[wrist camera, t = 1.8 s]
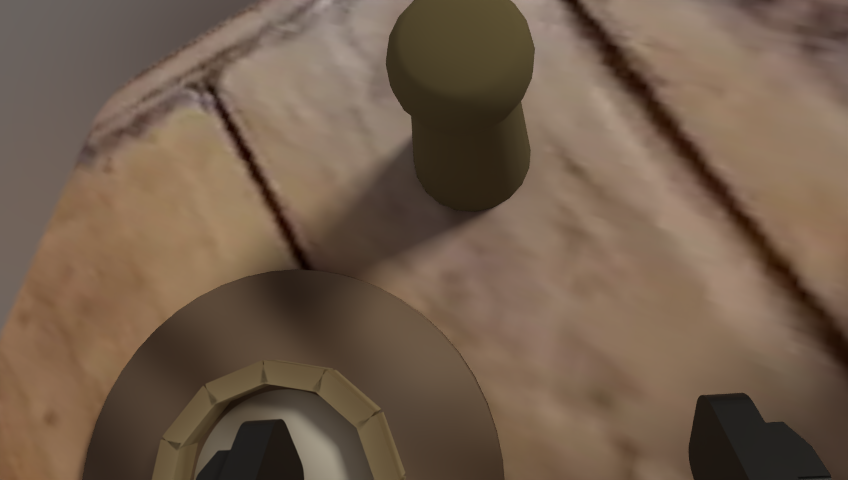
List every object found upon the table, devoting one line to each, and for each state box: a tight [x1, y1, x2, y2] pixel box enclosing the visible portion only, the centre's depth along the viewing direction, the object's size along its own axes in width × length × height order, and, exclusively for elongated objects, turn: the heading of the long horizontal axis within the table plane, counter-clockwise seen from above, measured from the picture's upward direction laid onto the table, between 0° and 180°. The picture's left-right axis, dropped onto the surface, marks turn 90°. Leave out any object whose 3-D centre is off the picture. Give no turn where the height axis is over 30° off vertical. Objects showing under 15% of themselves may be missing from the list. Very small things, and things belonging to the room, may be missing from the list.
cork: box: [386, 0, 535, 212], centre depth 23 cm, size 6×6×11 cm
